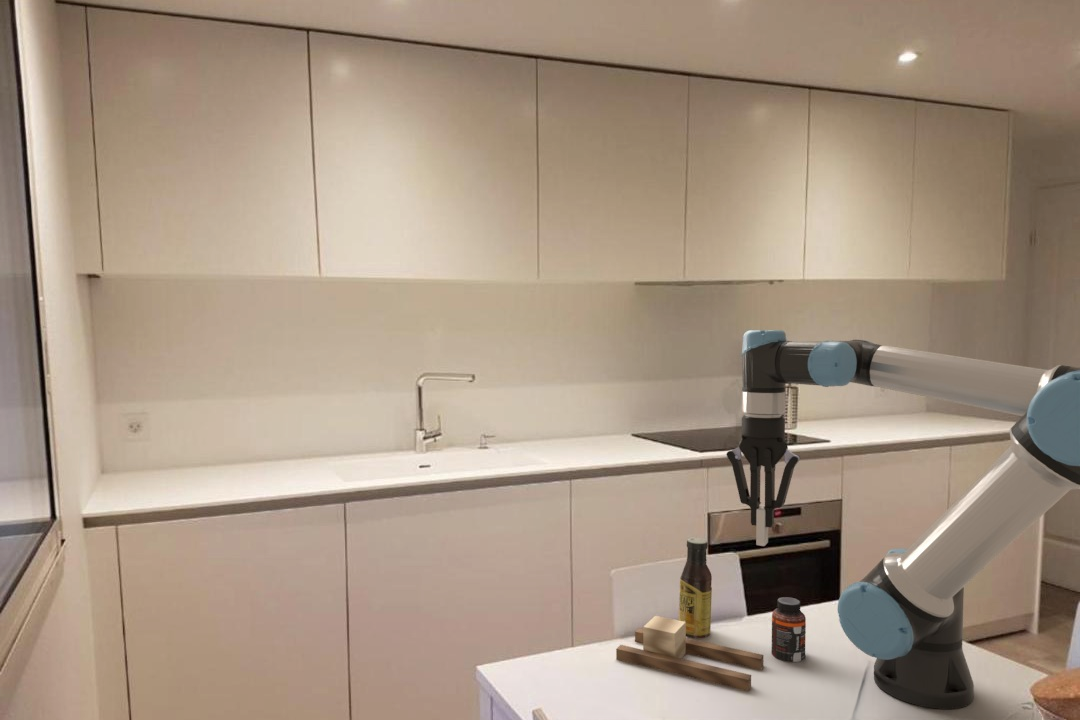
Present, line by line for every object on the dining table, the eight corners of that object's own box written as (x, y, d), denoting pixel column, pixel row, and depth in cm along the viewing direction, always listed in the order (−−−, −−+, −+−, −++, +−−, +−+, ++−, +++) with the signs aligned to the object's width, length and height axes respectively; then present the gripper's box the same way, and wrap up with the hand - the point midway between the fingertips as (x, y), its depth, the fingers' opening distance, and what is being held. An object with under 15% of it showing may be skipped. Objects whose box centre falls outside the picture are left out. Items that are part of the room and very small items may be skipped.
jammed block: (685, 653, 135) (685, 621, 135) (674, 666, 130) (674, 633, 130) (655, 646, 138) (655, 615, 138) (643, 659, 133) (643, 626, 133)
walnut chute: (764, 669, 131) (764, 653, 131) (747, 699, 120) (747, 681, 120) (640, 641, 143) (640, 626, 143) (615, 666, 132) (615, 649, 132)
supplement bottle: (807, 669, 131) (808, 607, 130) (773, 666, 132) (773, 605, 132) (802, 655, 137) (803, 596, 136) (769, 652, 138) (770, 593, 137)
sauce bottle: (673, 633, 147) (673, 536, 146) (700, 629, 149) (701, 533, 148) (689, 646, 141) (689, 545, 140) (717, 642, 142) (718, 542, 142)
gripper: (804, 414, 131) (803, 543, 132) (732, 411, 138) (732, 533, 139) (796, 419, 125) (795, 554, 126) (721, 415, 131) (720, 543, 132)
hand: (762, 543), depth 132 cm, fingers closed
